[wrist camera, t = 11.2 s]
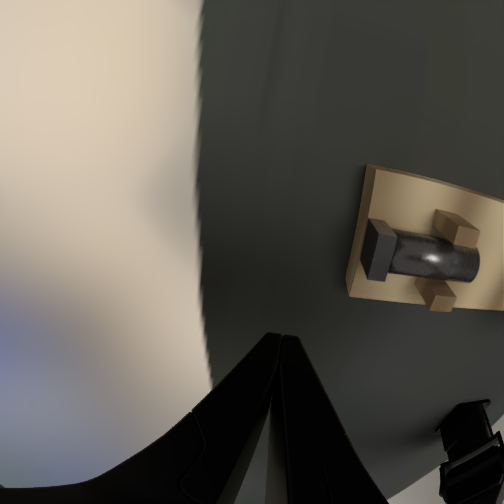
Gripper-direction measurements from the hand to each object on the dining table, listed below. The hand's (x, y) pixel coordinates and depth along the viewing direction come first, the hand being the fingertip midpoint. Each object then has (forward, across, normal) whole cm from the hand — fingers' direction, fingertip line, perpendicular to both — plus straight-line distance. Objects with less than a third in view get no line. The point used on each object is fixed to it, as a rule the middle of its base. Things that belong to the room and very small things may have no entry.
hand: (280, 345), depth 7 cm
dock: (+12, -17, 0) cm, 21 cm away
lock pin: (+9, -7, 0) cm, 12 cm away
